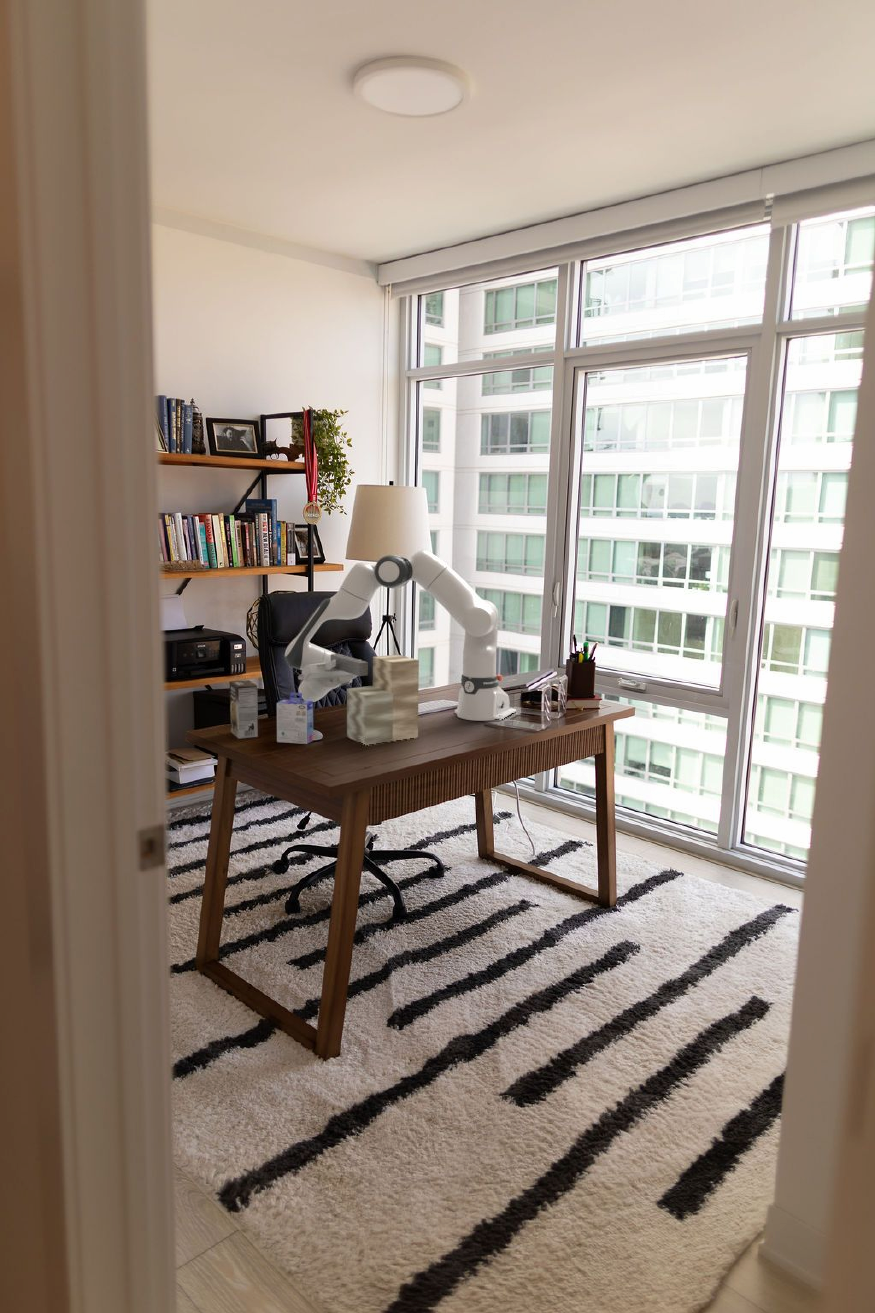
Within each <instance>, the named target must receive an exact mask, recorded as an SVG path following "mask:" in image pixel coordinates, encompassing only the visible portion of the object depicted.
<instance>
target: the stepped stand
mask: <svg viewBox="0 0 875 1313" xmlns="http://www.w3.org/2000/svg"><path fill="white" fill-rule="evenodd" d="M419 665H420V661H419V659H417V658H416V659H415V658H411V657H409V656H404V655H401V654H392V655H381V656H379V655H378V656H372V685H368V686H359V687H358V686H356V687H350V688H346V737H347V738H349V739H351V740H353V741H355V742H357V743H359V742H361V743H363V744H362V745H364V744H365V745H364V746H366V745H368V746H370V745H369V744H374V745H377V744H376V743H381V742H388V743H391V742H390V741H394V742H397V741H396V740H401V741H404V740H403V739H407V740H411V739H410V738H414V739H418V738H419V689H420V688H419V683H420V682H419V681H420V680H419V676H420V675H419V674H420V670H419V669H420V668H419V667H420V666H419ZM417 737H418V738H417ZM361 743H360V744H361ZM381 744H382V743H381Z"/></svg>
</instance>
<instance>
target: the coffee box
mask: <svg viewBox="0 0 875 1313" xmlns="http://www.w3.org/2000/svg"><path fill="white" fill-rule="evenodd" d="M228 683H229V708H230V709H229V710H230V711H229V713H230V715H229V716H230V733H232V735H234V736H235V737H236V738H237V739H247V738H248V739H251V738H258V737H259V728H258V727H259V725H258V724H259V722H258V720H259V718H258V717H259V714H258V713H259V712H258V709H259V708H258V705H259V704H258V685H257V684H256V683H254V682H253V681H251V680H250V679H249V680H230V681H228Z"/></svg>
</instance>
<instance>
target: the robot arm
mask: <svg viewBox="0 0 875 1313" xmlns="http://www.w3.org/2000/svg"><path fill="white" fill-rule="evenodd" d="M409 581H414V582H416V583H417V584H418V585H420V586H421V588H423V589H424V590H425V591H426V592H427V593H429V595H430V596H431V597H433V598H434V599H435V600H436V601H437V602H438V603H439V604H440V605H441V606H442V607H443V608H444V609H445V610H446V611H447V612H448V613H449V615H450V616H451V617H452V618H453V619H454V620H455V621H456V623H457V624H459V626H460V627H461V628H462V629H463V630H464V641H463V642H464V643H463V652H462V653H463V654H462V655H463V656H462V674H461V679H460V681H461V682H460V684H461V688H460V689H459V691H458V698H457V699H458V700H457V708H455V709H454V713H455V714H456V716H457V717H458V718H460V719H463V720H467V721H478V722H479V721H481V722H484V721H495V720H494V719H503V720H505V719H506V718H505V717H507V716H508V715H510V714H511V713H514V712H515V711H516V712H517V709H516V708H513V707H510V696H509V695H508V693H507V692H506V691H504V690H503V689H502V688H501V687H500V685H499V682H503V679H504V678H503V675H502V674H497V647H498V646H497V645H498V634H499V633H498V630H499V611H498V608H497V606H496V605H495V604H494V603H493V602H491V601H490V600H487V599H482V598H481V597H480V596H479V595H478V594H477V593H476V592H475V591H474V590H473V589H472V587H471V586H470V585H469V584H468V583H467V581H466V580H464V579H463V578H462V576H460V575H459V574H458V573H457V572H456V571H455V570H454V569H453V568H451V566H449V565H448V564H447V563H446V562H445V561H443V560H442V559H441V558H439V557H438V556H437V555H435V554H433V553H432V552H431V551H429V550H426V549H421V550H418V551H416V552H415V553H414V554H412V556H410V557H409V558H407V557H402V556H400V555H396V554H389V555H385V556H382V557H381V558H379V559H378V560H377V561H376V564H375V565H373V564H370V563H368V562H363V561H362V562H357V563H355V564H354V565H353V567H352V568H351V569H350V570H349V571H348V573H347V575H346V577H345V578H344V580H343V582H342V583H341V586H340V588H339V589H338V590H337V592H336V593H335V594H334V595H333V596H331V597H329V598H325V599H323V600H322V601H321V602H320V603H319V604H318V606H317V607H316V608H315V610H314V611H313V612H312V614H311V615H310V617H309V618H308V619H307V621H306V622H305V623H304V625H303V627H302V628H301V629H300V631H299V632H298V633H297V635H296V636H295V637H294V638H293V639H292V640H291V642H290V643H289V644H288V645H287V647H286V649H285V653H284V659H285V662H286V663H287V665H288V667H289V668H293V669H296V670H301V674H299V675H298V677H297V678H298V680H301V683H300V684H299V686H298V690H297V691H298V693H302V700H303V701H313V703H314V702H317V701H319V700H321V699H323V697H325V696H326V695H327V694H328V693H329V692H330V691H332V690H334V689H336V688H339V687H342V686H344V685H350V684H351V683H353V680H354V679H357V677H358V676H357V675H354V674H351V673H348V672H345V671H342V670H339V669H336V668H333V667H335V666H337V665H338V664H339V663H338V660H332V661H331V654H337V653H335V652H333V651H331V650H329V649H326V648H324V647H321V646H318V645H316V644H314V643H311V642H310V641H311V639H312V638H313V637H314V635H315V634H316V633H317V631H318V630H319V628H320V627H321V626H322V624H323V623H325V622H326V621H330V620H345V621H346V620H354V619H358V618H360V617H361V616H363V615H364V614H365V612H366V610H367V609H368V607H369V605H370V603H371V601H372V599H373V597H374V595H375V593H376V592H377V590H378V589H380V587H384V588H388V589H399V588H401V587H404V586H406V585H407V584H408V583H409ZM514 714H515V713H514ZM504 718H505V719H504ZM507 718H508V717H507Z"/></svg>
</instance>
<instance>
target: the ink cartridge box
mask: <svg viewBox="0 0 875 1313" xmlns="http://www.w3.org/2000/svg"><path fill="white" fill-rule="evenodd" d="M293 696H298V697H293ZM313 741H314V702H313V701H305V700H303V698H302V693H299V692H290V696H289V699H281V700H279V701H278V702H276V742H277V743H284V744H285V743H286V744H288V743H289V744H301V745H308V744H309V743H311V742H313Z"/></svg>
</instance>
